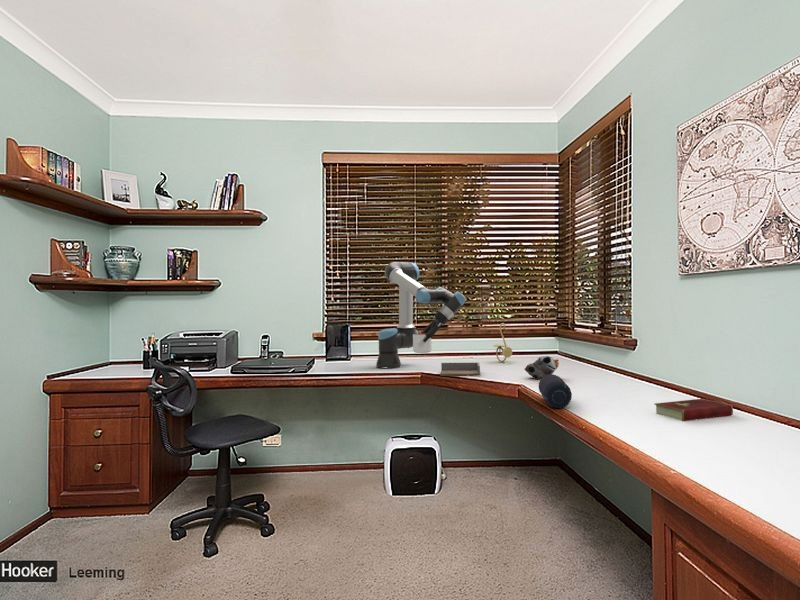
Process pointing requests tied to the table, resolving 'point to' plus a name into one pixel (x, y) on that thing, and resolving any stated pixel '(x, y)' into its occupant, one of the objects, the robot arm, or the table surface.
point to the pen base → (458, 372)
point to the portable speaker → (555, 391)
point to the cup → (425, 347)
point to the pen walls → (460, 366)
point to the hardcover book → (693, 409)
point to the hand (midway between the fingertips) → (416, 345)
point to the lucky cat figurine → (542, 367)
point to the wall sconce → (507, 350)
